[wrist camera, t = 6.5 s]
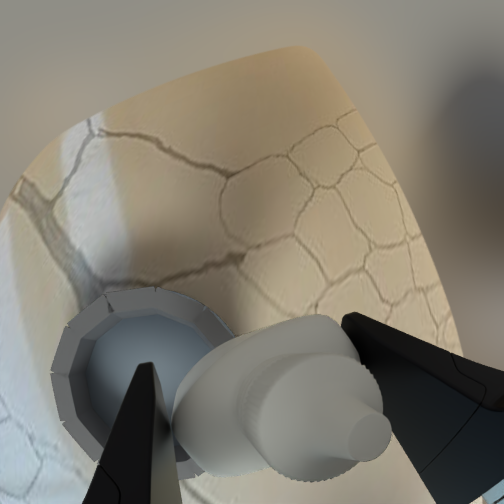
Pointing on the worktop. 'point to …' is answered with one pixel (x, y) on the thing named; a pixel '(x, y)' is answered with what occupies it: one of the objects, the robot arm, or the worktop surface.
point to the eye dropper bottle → (282, 404)
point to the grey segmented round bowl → (129, 359)
